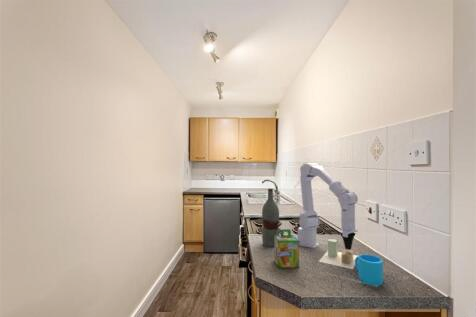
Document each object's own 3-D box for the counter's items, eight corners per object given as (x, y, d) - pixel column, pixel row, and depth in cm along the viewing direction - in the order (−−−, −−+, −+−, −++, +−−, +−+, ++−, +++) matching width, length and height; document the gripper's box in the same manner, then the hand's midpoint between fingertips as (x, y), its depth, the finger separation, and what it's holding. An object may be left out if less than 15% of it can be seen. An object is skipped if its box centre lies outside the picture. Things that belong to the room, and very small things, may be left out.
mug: (388, 284, 90) (388, 261, 90) (370, 287, 88) (369, 264, 88) (363, 270, 101) (363, 250, 102) (347, 272, 99) (346, 252, 100)
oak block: (344, 257, 113) (341, 262, 108) (344, 249, 113) (341, 254, 108) (353, 259, 111) (350, 264, 105) (353, 251, 111) (350, 256, 106)
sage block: (327, 255, 116) (327, 240, 116) (329, 253, 119) (329, 238, 119) (335, 257, 114) (335, 242, 114) (337, 254, 117) (337, 240, 117)
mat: (318, 262, 109) (318, 261, 109) (328, 251, 123) (328, 250, 123) (353, 270, 101) (353, 269, 101) (359, 257, 115) (359, 255, 115)
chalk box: (278, 268, 103) (277, 233, 103) (273, 259, 112) (273, 227, 112) (299, 268, 104) (299, 232, 104) (293, 259, 113) (293, 227, 113)
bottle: (260, 246, 130) (260, 189, 130) (263, 241, 139) (263, 187, 139) (278, 247, 128) (278, 190, 128) (280, 242, 136) (279, 188, 137)
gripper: (355, 223, 103) (355, 256, 103) (360, 217, 115) (360, 246, 115) (337, 221, 107) (337, 252, 107) (344, 215, 119) (344, 243, 119)
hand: (348, 249), depth 111 cm, fingers closed
